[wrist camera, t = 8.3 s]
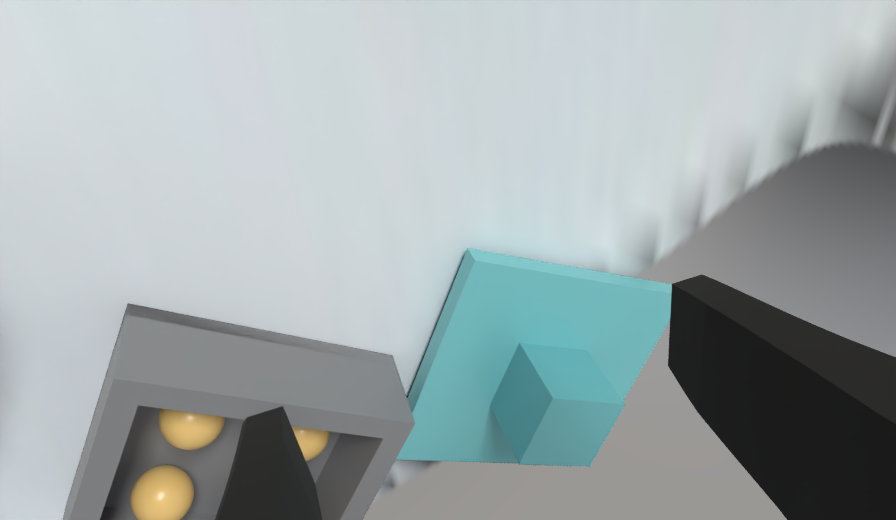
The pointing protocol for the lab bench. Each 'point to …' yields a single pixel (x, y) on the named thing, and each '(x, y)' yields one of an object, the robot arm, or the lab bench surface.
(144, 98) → the lab bench surface
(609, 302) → the lid
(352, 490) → the box
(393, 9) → the lab bench surface
